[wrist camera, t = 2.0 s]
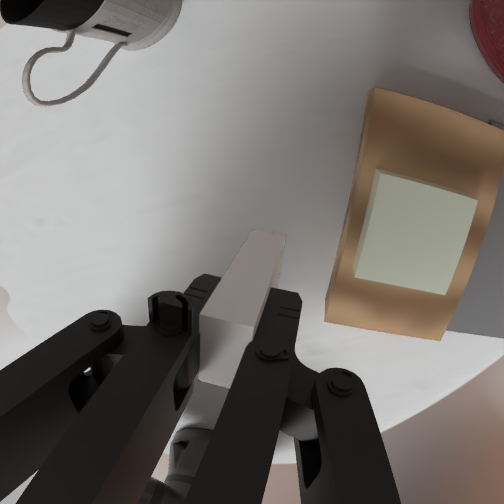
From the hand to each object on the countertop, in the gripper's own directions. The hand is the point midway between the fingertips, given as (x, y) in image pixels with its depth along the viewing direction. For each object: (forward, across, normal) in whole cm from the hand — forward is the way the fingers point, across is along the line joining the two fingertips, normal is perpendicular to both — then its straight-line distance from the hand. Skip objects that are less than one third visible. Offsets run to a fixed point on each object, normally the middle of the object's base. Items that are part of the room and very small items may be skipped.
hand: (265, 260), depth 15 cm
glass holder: (+15, +17, -14) cm, 27 cm away
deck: (+15, -11, 0) cm, 18 cm away
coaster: (+11, -10, 0) cm, 15 cm away
